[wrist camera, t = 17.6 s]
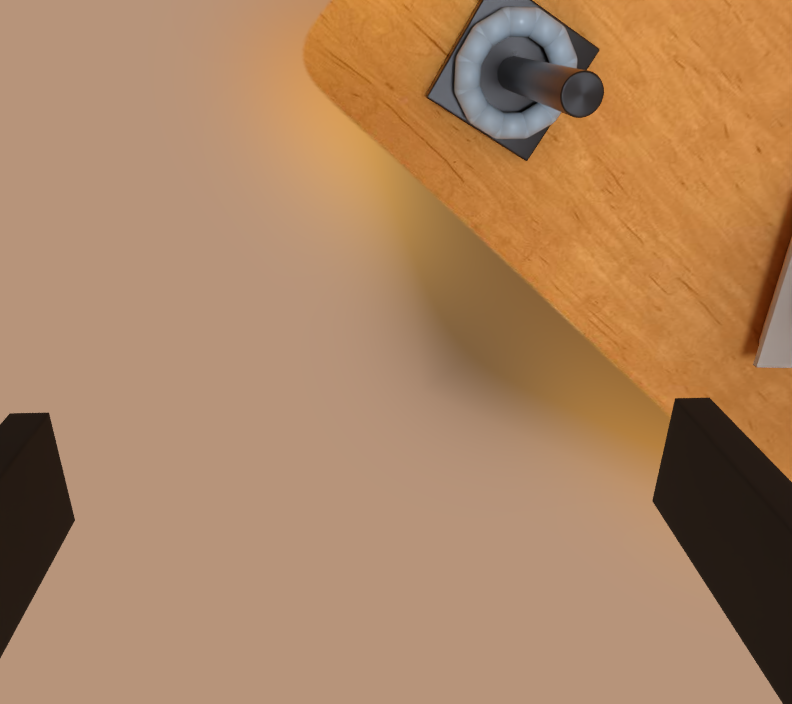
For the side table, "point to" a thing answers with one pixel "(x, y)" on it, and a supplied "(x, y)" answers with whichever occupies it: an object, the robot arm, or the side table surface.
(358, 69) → the side table surface
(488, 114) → the ring
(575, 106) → the post
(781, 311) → the desk lamp
